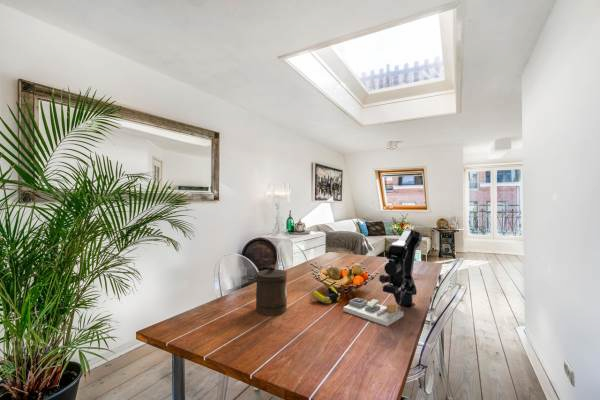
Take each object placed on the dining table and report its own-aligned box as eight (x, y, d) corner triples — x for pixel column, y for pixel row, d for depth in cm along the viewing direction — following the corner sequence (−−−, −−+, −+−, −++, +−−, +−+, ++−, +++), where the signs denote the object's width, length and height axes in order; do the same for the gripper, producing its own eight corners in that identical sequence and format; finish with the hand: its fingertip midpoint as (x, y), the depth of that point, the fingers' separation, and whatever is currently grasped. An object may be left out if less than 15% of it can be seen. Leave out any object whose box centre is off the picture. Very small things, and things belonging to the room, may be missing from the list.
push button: (357, 302, 143) (357, 298, 143) (364, 304, 141) (364, 300, 141) (352, 304, 141) (352, 300, 141) (359, 306, 138) (359, 302, 138)
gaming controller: (311, 301, 151) (324, 306, 144) (311, 290, 151) (324, 295, 144) (330, 295, 161) (344, 299, 153) (330, 285, 161) (344, 289, 153)
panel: (360, 303, 148) (360, 295, 148) (403, 316, 132) (403, 307, 132) (343, 311, 138) (343, 302, 138) (387, 326, 121) (387, 316, 121)
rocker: (373, 300, 138) (373, 298, 138) (379, 302, 136) (378, 300, 136) (366, 306, 134) (366, 304, 134) (372, 308, 132) (372, 306, 132)
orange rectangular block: (389, 310, 133) (389, 303, 133) (396, 312, 131) (396, 305, 131) (386, 311, 132) (386, 304, 132) (394, 313, 129) (394, 306, 129)
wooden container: (292, 309, 139) (293, 264, 139) (269, 318, 129) (269, 270, 129) (272, 302, 150) (272, 260, 150) (249, 310, 139) (249, 264, 139)
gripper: (391, 264, 148) (391, 294, 148) (372, 271, 135) (372, 304, 135) (412, 268, 140) (412, 300, 140) (394, 275, 127) (394, 310, 127)
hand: (397, 303), depth 136 cm, fingers closed
